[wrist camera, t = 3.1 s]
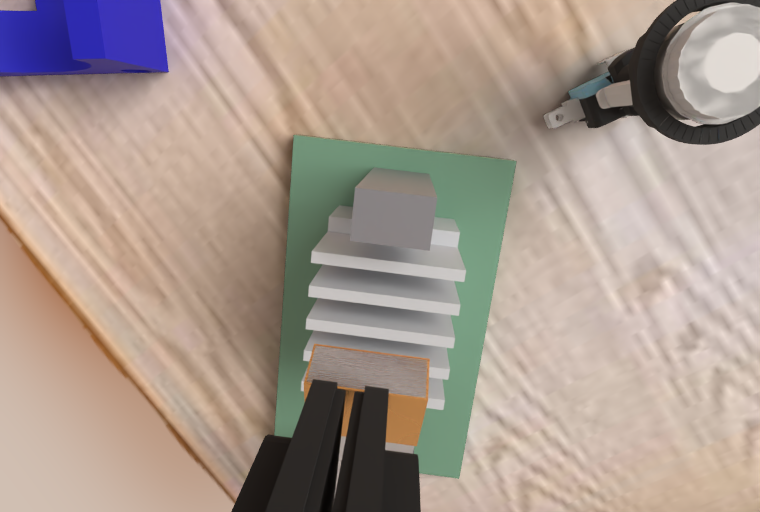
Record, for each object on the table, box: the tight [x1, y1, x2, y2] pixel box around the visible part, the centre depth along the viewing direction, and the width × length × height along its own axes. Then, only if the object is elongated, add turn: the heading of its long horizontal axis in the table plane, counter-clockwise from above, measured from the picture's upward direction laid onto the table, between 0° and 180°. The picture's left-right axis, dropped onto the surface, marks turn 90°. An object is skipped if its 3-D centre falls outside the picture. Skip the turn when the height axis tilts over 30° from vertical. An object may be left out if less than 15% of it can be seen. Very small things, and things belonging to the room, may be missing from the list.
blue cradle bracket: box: [0, 0, 169, 76], centre depth 24 cm, size 12×4×6 cm, turn 91°
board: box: [274, 135, 517, 479], centre depth 24 cm, size 12×20×12 cm, turn 174°
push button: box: [543, 0, 760, 145], centre depth 21 cm, size 7×5×10 cm
